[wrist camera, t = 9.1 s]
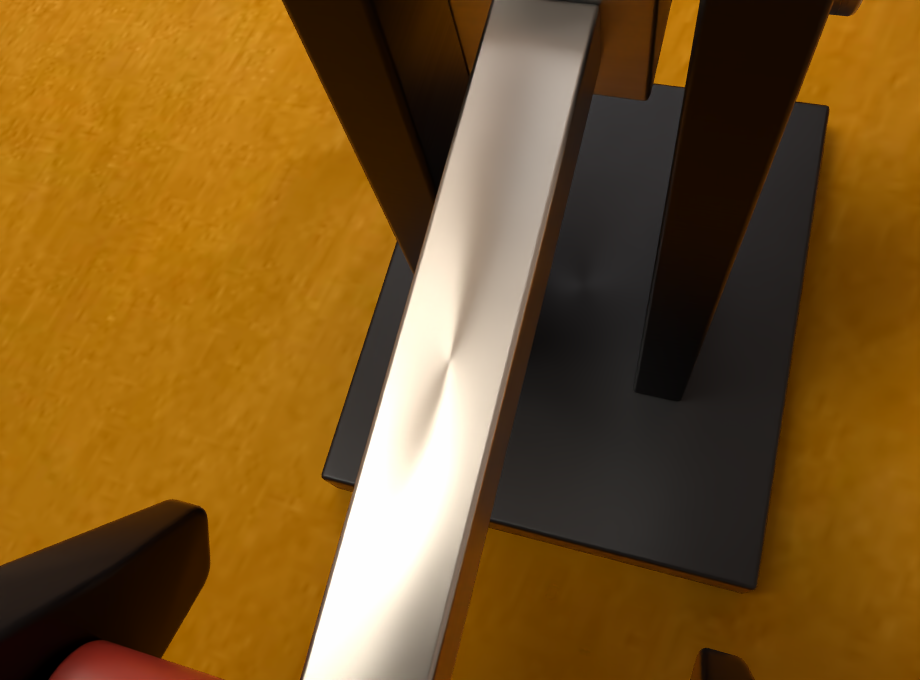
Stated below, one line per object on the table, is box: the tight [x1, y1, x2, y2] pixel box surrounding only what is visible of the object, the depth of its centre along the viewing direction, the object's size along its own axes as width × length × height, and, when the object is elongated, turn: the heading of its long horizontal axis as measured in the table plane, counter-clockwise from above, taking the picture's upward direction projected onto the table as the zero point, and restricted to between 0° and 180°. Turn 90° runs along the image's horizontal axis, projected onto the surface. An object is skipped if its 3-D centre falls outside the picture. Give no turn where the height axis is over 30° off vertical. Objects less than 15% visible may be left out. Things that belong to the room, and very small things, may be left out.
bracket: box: [282, 0, 863, 593], centre depth 13 cm, size 11×9×13 cm
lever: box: [48, 0, 672, 680], centre depth 8 cm, size 11×6×2 cm, turn 165°
